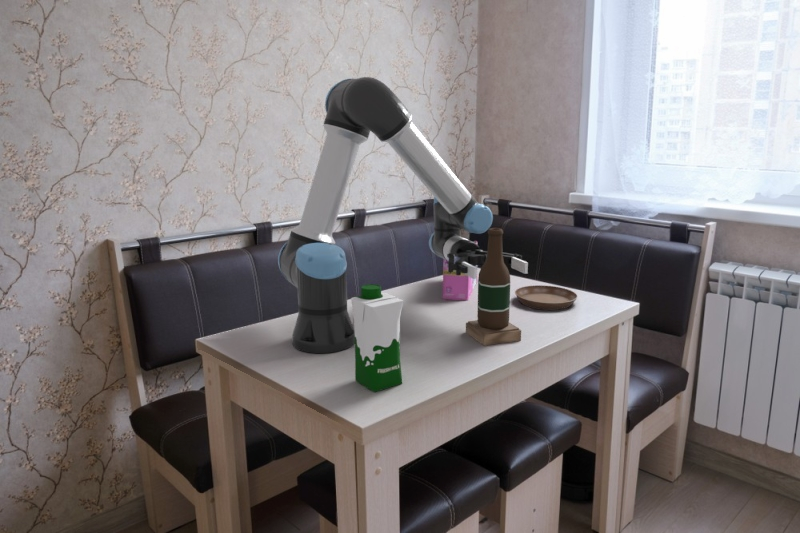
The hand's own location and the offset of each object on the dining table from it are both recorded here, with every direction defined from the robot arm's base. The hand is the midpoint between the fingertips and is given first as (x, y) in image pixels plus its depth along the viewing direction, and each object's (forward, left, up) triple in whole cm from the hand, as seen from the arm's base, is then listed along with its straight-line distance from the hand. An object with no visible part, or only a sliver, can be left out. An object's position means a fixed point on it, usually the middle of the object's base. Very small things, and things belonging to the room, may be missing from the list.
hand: (501, 270), depth 150 cm
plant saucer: (+28, +23, -18) cm, 41 cm away
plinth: (0, +3, -17) cm, 18 cm away
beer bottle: (0, +3, -15) cm, 15 cm away
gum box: (+11, +45, -18) cm, 49 cm away
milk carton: (-35, -13, -18) cm, 41 cm away
